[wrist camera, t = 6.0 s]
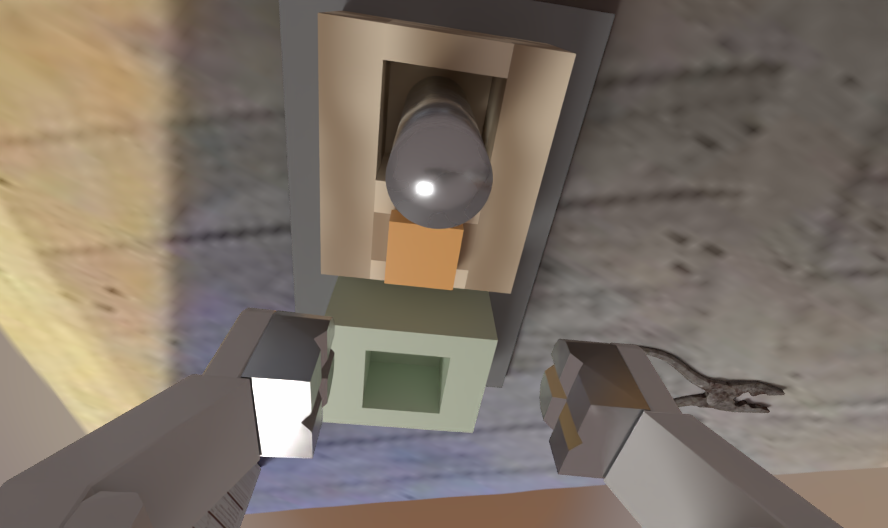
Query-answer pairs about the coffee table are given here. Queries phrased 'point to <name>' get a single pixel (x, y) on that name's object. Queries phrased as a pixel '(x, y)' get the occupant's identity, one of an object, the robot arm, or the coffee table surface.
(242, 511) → the supplement box
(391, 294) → the frame
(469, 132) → the grey cylindrical peg
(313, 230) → the mat
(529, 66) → the socket block
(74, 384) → the coffee table surface
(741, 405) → the pliers
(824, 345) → the coffee table surface
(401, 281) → the key
